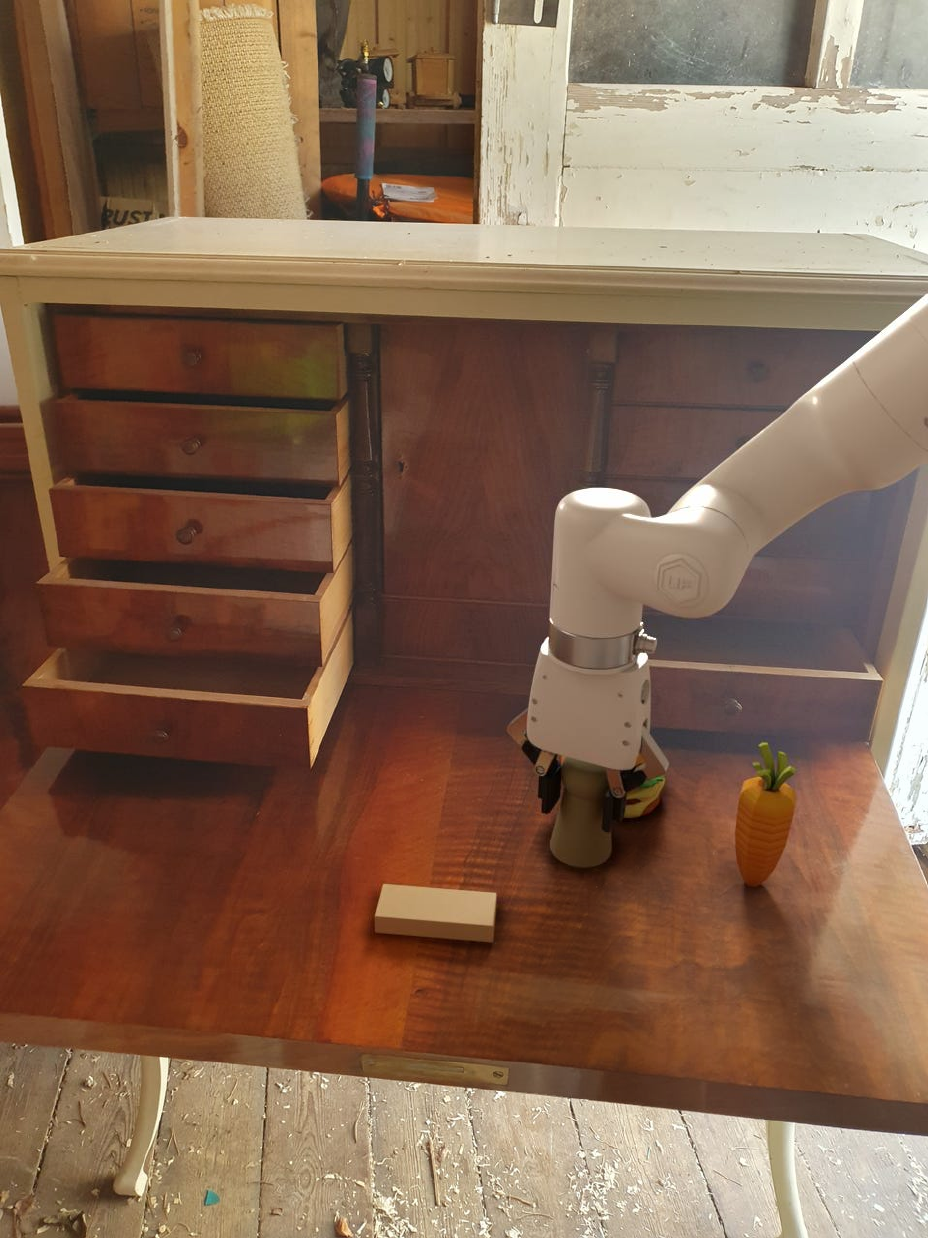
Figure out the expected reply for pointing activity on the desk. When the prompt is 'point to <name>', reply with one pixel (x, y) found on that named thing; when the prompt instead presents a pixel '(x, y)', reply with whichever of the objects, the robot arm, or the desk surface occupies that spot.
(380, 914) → the beige rectangular eraser
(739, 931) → the desk surface
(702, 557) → the robot arm
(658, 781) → the cheeseburger
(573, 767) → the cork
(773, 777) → the carrot
